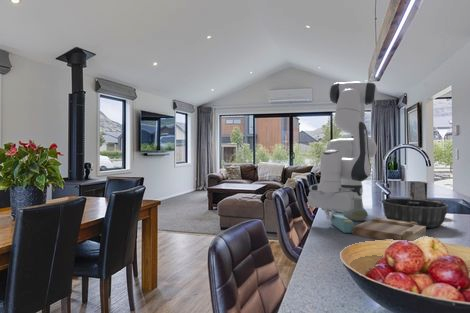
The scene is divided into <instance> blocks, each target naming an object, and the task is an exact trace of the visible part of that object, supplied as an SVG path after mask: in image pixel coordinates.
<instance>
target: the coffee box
mask: <svg viewBox="0 0 470 313" xmlns="http://www.w3.org/2000/svg"><path fill="white" fill-rule="evenodd" d="M408 186H409V187H408V199H417V200H427V199H428V183H427V182H425V181H408Z"/></svg>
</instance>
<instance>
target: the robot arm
mask: <svg viewBox="0 0 470 313" xmlns="http://www.w3.org/2000/svg"><path fill="white" fill-rule="evenodd" d="M328 94H329V95H328V96H329V99H330V100H329V101H330V102H332V103H333V104H336V107H335V113H334V114H335V115H334V123H335V125H336V127H337V128H338V129H340V131H342V132H345V133H347V134H350V135H352V136H353V137H352V138H336V139H335V138H334V139H331V140H329V141H328V143H327V144H326V150H324V151H323V152H322V153H321V156H320V165H319V166H320V168H319V169H320V170H319V171H320V177H319V178H320V179H319V182H317V183H315V184H312V185H310V186H309V192H308V197H307V204H308V207H312V208H319V209H321V210H323V211H324V213H325V215H326V220H330V221H331V220H333V219H334V214H337V213H336V212H338V213H341V214H343V211H347V212H350V211H353V209H354V201H353V198H360V199H362V200H363V191H364V190H363V188H364V187H363V184H362V182H364V181H365V180H366V179H368V178H369V177H370V175H371V173H372V172H371V168H372V167H371V163H370V158H372V159H373V158H374V156H376V154H377V152H378V147H377V143H376V141H374V140H373V139H372V138H371V137H370V136H369V135H368V130H367V125H366V124H365V116H366V115H365V112H366V106H367V105H371V104H373V103H374V102H375V100H376V98H377V97H378V96H377V95H378V88H377V85H376V84H375V83H373V82H370V81H367V82H363V81H345V82H340V81H339V82H335V83H333V84H332V85H331V86H330V89H329V92H328ZM362 208H363V209H365V207H364V203H363V201H362ZM330 212H331V213H330Z"/></svg>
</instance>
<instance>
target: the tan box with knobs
mask: <svg viewBox="0 0 470 313" xmlns="http://www.w3.org/2000/svg"><path fill="white" fill-rule="evenodd" d="M426 231H427V227H426V226H420V225H418V223H417V222H406V221H399V220H391V219H387V218H383V217H374V218H372V220H367V221H364V222H362V223H359V224H357V225H354V227H353V231H352V232H351V233H352V234H351V235H353V236H359V237H365V238H370V239H374V240H375V239H376V240H380V239H393V240H407V241H414V240H416V239H418V238H420V237H423V236H427V232H426Z"/></svg>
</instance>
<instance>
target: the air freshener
mask: <svg viewBox="0 0 470 313" xmlns="http://www.w3.org/2000/svg"><path fill="white" fill-rule="evenodd" d="M353 201H354V209H353V211H350V212H347V211H343V213H342V215H343V216H344V217H346V218H348V219H349V220H352V221H353V222H361V221H363V220H365V219H367V217H368V211H367V210H366V209H365V208H364V209H363V208H362V202H363V198H362V199H360V198H353Z"/></svg>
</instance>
